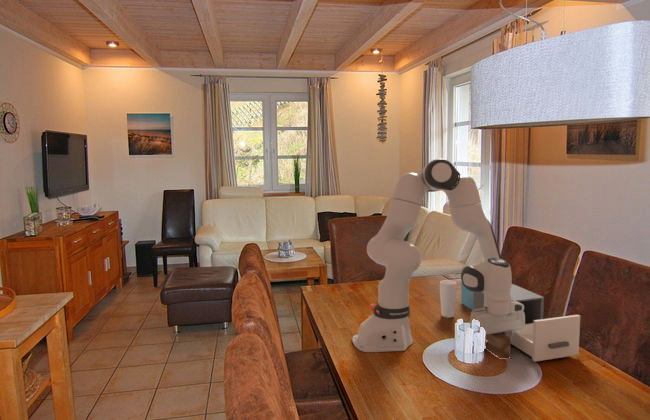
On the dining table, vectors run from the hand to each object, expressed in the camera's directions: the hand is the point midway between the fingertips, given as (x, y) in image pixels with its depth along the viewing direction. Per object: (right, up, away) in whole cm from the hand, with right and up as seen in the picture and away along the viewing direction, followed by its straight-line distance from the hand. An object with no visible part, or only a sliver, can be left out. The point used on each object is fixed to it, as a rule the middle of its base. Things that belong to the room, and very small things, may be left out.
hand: (496, 343), depth 159 cm
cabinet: (+11, -1, +18) cm, 21 cm away
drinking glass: (-7, +1, +36) cm, 37 cm away
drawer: (+15, -1, 0) cm, 15 cm away
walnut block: (0, -3, 0) cm, 3 cm away
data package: (+6, +3, +47) cm, 47 cm away
